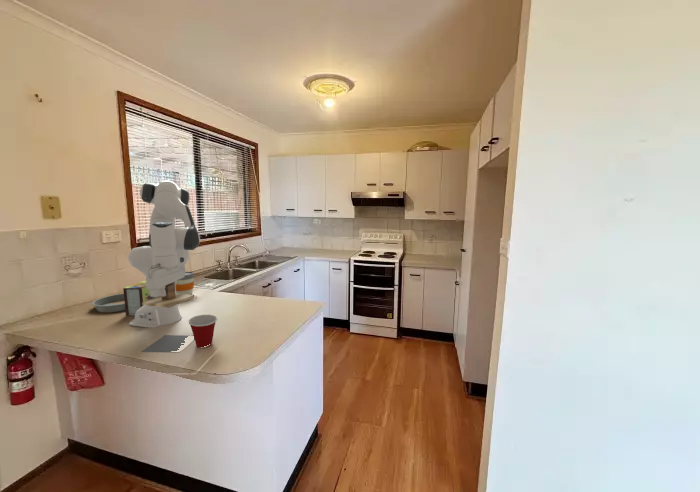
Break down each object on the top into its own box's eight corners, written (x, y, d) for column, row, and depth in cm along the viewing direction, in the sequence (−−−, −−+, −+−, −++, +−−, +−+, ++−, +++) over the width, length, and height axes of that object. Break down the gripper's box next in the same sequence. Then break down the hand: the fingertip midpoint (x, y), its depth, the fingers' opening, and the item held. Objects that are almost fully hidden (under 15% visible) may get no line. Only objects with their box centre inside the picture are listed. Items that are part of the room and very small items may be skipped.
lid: (142, 304, 116) (140, 288, 115) (168, 294, 128) (167, 279, 127) (169, 307, 113) (168, 290, 112) (193, 297, 126) (192, 281, 124)
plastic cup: (202, 354, 115) (201, 325, 113) (184, 348, 119) (182, 321, 117) (224, 342, 125) (222, 316, 123) (206, 338, 129) (204, 312, 127)
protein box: (163, 306, 169) (161, 280, 166) (144, 316, 153) (141, 288, 151) (146, 305, 169) (143, 280, 167) (125, 315, 154) (122, 287, 151)
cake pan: (153, 304, 173) (153, 296, 172) (102, 317, 152) (101, 308, 151) (135, 296, 186) (135, 290, 185) (86, 307, 165) (85, 300, 164)
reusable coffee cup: (179, 300, 179) (177, 277, 177) (169, 296, 186) (167, 274, 183) (199, 295, 189) (197, 273, 187) (189, 292, 196) (187, 270, 194)
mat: (140, 352, 116) (140, 351, 116) (164, 336, 130) (164, 335, 130) (180, 353, 116) (180, 352, 116) (199, 336, 130) (199, 335, 130)
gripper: (156, 267, 108) (159, 302, 110) (187, 256, 128) (189, 286, 130) (139, 267, 108) (142, 302, 110) (173, 256, 128) (175, 286, 130)
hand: (168, 293), depth 120 cm, fingers closed on lid, 4 cm apart
